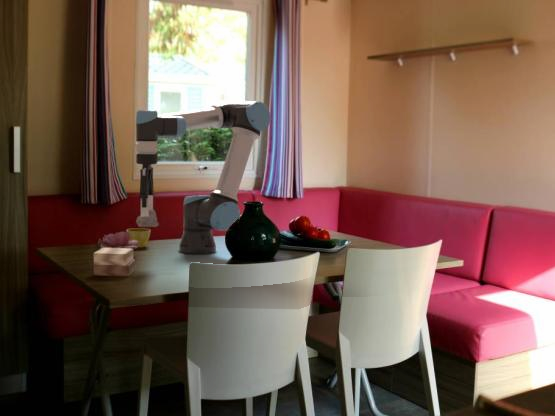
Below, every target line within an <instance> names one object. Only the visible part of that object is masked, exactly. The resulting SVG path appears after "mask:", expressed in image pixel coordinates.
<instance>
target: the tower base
mask: <svg viewBox="0 0 555 416" xmlns="http://www.w3.org/2000/svg"><path fill="white" fill-rule="evenodd" d="M135 270H136V259H135V258H133V260H132V261H131V262H130V263H128V264H127V265H126V266H122V265H94V264H93V276H106V277H109V276H110V277H113V276H114V277H117V276H118V277H129V276H131V274H132V273H134V271H135Z"/></svg>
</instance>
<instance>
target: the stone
mask: <svg viewBox="0 0 555 416" xmlns="http://www.w3.org/2000/svg"><path fill="white" fill-rule="evenodd" d="M135 223H136V224H137V226H138V227H139V228H141V227H142V228H146V227H147V228H149V227H153V228H157V227H158V226H159V225H160V223H159V222H158V218H157V213H156V211H155V209H154V208H153V210H149V217H141V214H140V215H139V216H137V218H136V220H135Z"/></svg>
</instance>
